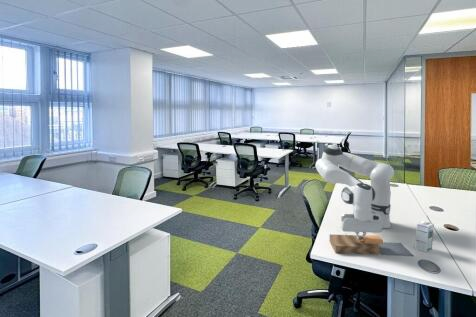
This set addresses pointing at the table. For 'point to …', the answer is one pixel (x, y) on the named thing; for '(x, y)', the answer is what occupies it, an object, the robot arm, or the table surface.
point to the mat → (394, 249)
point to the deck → (352, 245)
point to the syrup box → (424, 236)
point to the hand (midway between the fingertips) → (360, 239)
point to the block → (372, 239)
